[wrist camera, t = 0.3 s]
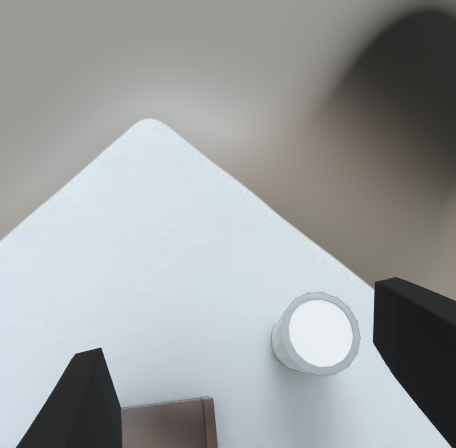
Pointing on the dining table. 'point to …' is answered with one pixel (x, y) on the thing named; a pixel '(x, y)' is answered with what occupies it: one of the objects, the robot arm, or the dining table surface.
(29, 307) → the dining table surface
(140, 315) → the dining table surface
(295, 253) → the dining table surface
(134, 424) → the shelf
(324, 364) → the white cup
